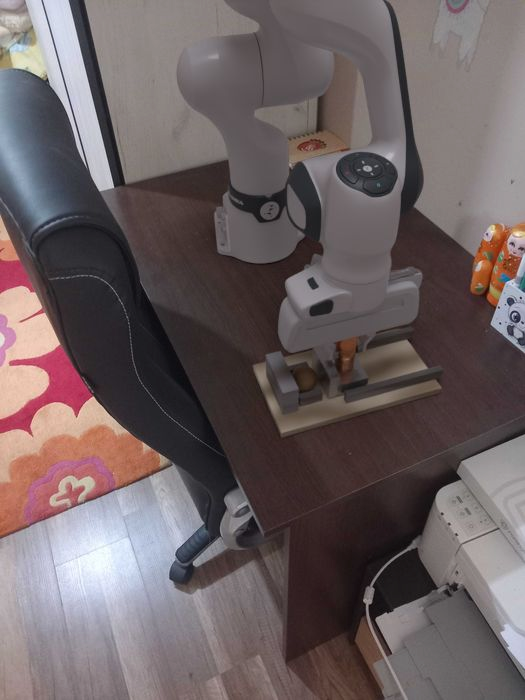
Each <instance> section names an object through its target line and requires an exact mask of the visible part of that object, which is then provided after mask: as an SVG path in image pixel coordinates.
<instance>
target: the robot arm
mask: <svg viewBox="0 0 525 700" xmlns="http://www.w3.org/2000/svg"><path fill="white" fill-rule="evenodd" d="M223 1H224V3H225V4H226V5H227V6H228V7H230V9H232V10H233V11H234V12H236V13H238V14H240V16H244V17H246V18H248V19H250V20H252V21H254V22H256V23H257V24H259V25H258V29H257V31H254V32H251V33H250V32H249V33H238V34H232V35H230V34H227V35H221V36H220V35H219V36H212V37H208V38H205V39H202V40H199V41H195V42H193V43H190V44H187V45H185V47H184V48H183V50H182V51H181V53H180V55H179V58H178V61H177V63H176V82H177V86H178V89H179V92H180V94H181V96H182V98H183V100H184V101H185V103H187V105H188V106H189V107H190V108H192V109H193V110H194V111H195V112H197V113H199V114H201V115H203V116H204V117H205V118H207V119H208V120H209V121H210V122H211V123H212V124H213V125H214V126H215V128H216V129H217V131H218V132H219V134H220V135H221V137H222V140H223V142H224V145H225V148H226V153H227V159H228V167H229V174H230V175H229V176H230V178H229V179H228V185H227V191H226V192H225V193H224V194H223V195H222V206H216V207H215V211H214V215H213V219H214V220H213V221H214V230H215V231H214V232H215V240H216V241H215V242H216V248H217V249H216V250H217V253H218V254H220V255H222V256H229V257H234V258H235V259H239V260H240V261H243V262H245V263H252V264H268V263H274V262H278V261H281V260H283V259H285V258H287V257H289V256H290V255H291V254H292V253H293V252H294V251H295V249H296V247H297V244H298V243H299V242H300V241H301V240H303V239H304V238H305V237H307V238H309V240H311V241H312V242H315V243H319V244H321V245H322V248H323V254H322V255H321V256H322V259H321V260H320V261H318V262H317V263H315V264H314V265H312V266H310V267H309V268H307V269H305V270H304V269H303V270H302V271H300V272H298V273H295V274H294V275H292V276H289V277H288V278H287V279H286V280H285V282H284V289H285V291H286V295H287V296H286V297H285V298H284V299H283V301H282V302H281V305H280V307H279V308H280V309H279V314H278V324H277V325H278V326H277V334H278V338H279V341H280V342H281V345H282V347H283V348H284V350H285V351H286V352H288V353H290V354H294V353H295V354H296V353H299V352H303V351H306V350H311V349H313V348H314V347H318V346H322V345H323V347H324V348H325V354H326V357H327V358H328V360H329V361H330V360H333V359H337V358H339V356H338V355H339V350H338V348H336V345H335V344H336V342H338V341H342V340H346V339H350V338H354V337H358V339H357V346H356V353H360V352H364V351H366V346H367V344H368V343H369V342H370V341H371V339H372V338H373V337H374V336H375V335H376V334H377V333H378V332H380V331H381V332H382V331H384V330H385V331H386V330H390V329H392V328H396V327H401V326H404V325H408V324H409V325H410V324H411V323H412V322H413V321H415V320H416V318H417V316H418V313H419V306H420V304H419V303H420V290H419V289H420V287H421V285H422V281H423V277H424V275H423V272H422V270H421V269H418V268H415V267H414V266H407V267H404V268H401V269H395V270H391V269H392V257H391V250H392V249H393V247H394V245H395V243H396V240H397V235H398V232H399V231H398V229H399V224H400V218H403V217H405V216H407V215H408V214H409V213H410V212H411V210H412V209H413V208H414V206H415V204H417V202H418V200H419V198H420V196H421V194H422V191H423V188H424V182H425V177H424V170H423V163H422V160H421V157H420V154H419V150H418V148H417V142H416V139H415V133H414V132H415V131H414V125H413V118H412V109H411V101H410V93H409V87H408V78H407V71H406V64H405V63H406V62H405V55H404V50H403V49H404V48H403V42H402V36H401V31H400V27H399V25H400V24H399V22H398V18H397V15H396V12H395V9H394V8H393V7H394V6H392V4H391V3H390V2H389V1H388V0H223ZM334 53H335V54H337V55H340V56H342V57H344V58H346V59H348V61H350V62H351V63H353V65H355V67H356V69H358V71H359V74H360V75H361V79H362V82H363V87H364V89H363V90H364V94H365V100H366V105H367V112H368V119H369V123H370V130H371V140H370V142H369V143H368V144H367V145H366V146H363V147H358V148H354V149H349V150H344V151H339V152H331V153H328V154H322V155H317V156H312V157H309V158H305V159H303V160H301V161H297V162H296V163H295V164H294V166H293V167H292V168H291V170H290V143H289V140H288V136H286V134H285V133H284V131H282V129H280V128H279V127H277V126H275V125H274V124H273V123H271V122H270V123H269V122H266V121H264V120H261V119H259V118H257V117H256V116H255V112H256V111H257V110H260V109H264V108H271V107H272V108H273V107H280V106H282V107H283V106H289V105H297V104H301V103H305V102H307V101H311V100H313V99H316V98H319V97H321V96H324V94H325V93H326V92H327V91H328V89H329V87H330V86H331V83H332V80H333V77H334V72H335V57H334V55H335V54H334Z"/></svg>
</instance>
